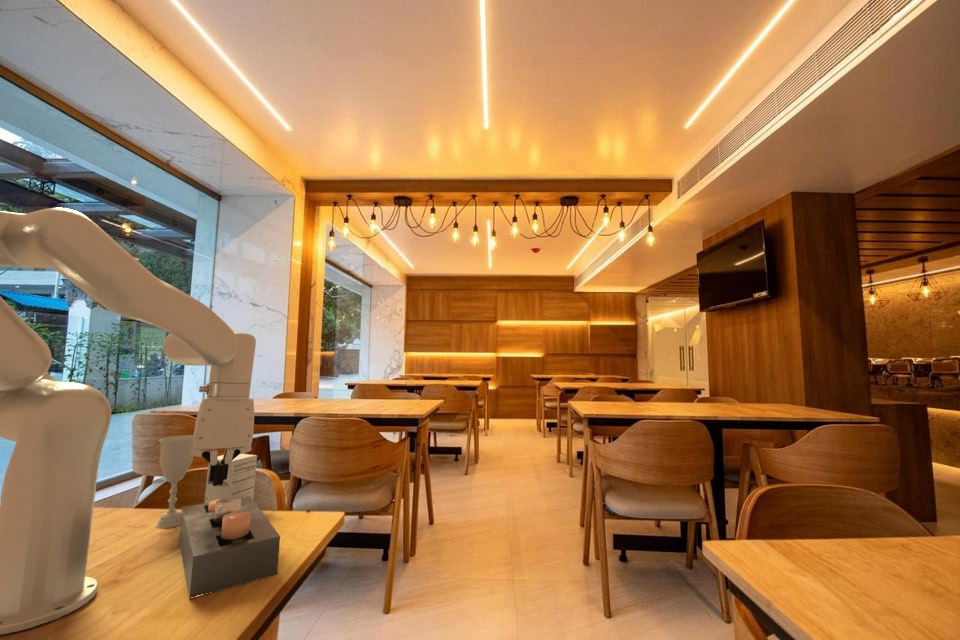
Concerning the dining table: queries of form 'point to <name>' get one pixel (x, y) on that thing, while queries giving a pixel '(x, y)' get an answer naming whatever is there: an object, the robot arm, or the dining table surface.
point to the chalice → (174, 473)
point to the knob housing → (225, 550)
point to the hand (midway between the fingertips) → (217, 484)
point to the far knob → (212, 506)
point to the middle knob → (226, 507)
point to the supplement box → (234, 479)
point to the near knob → (235, 525)
